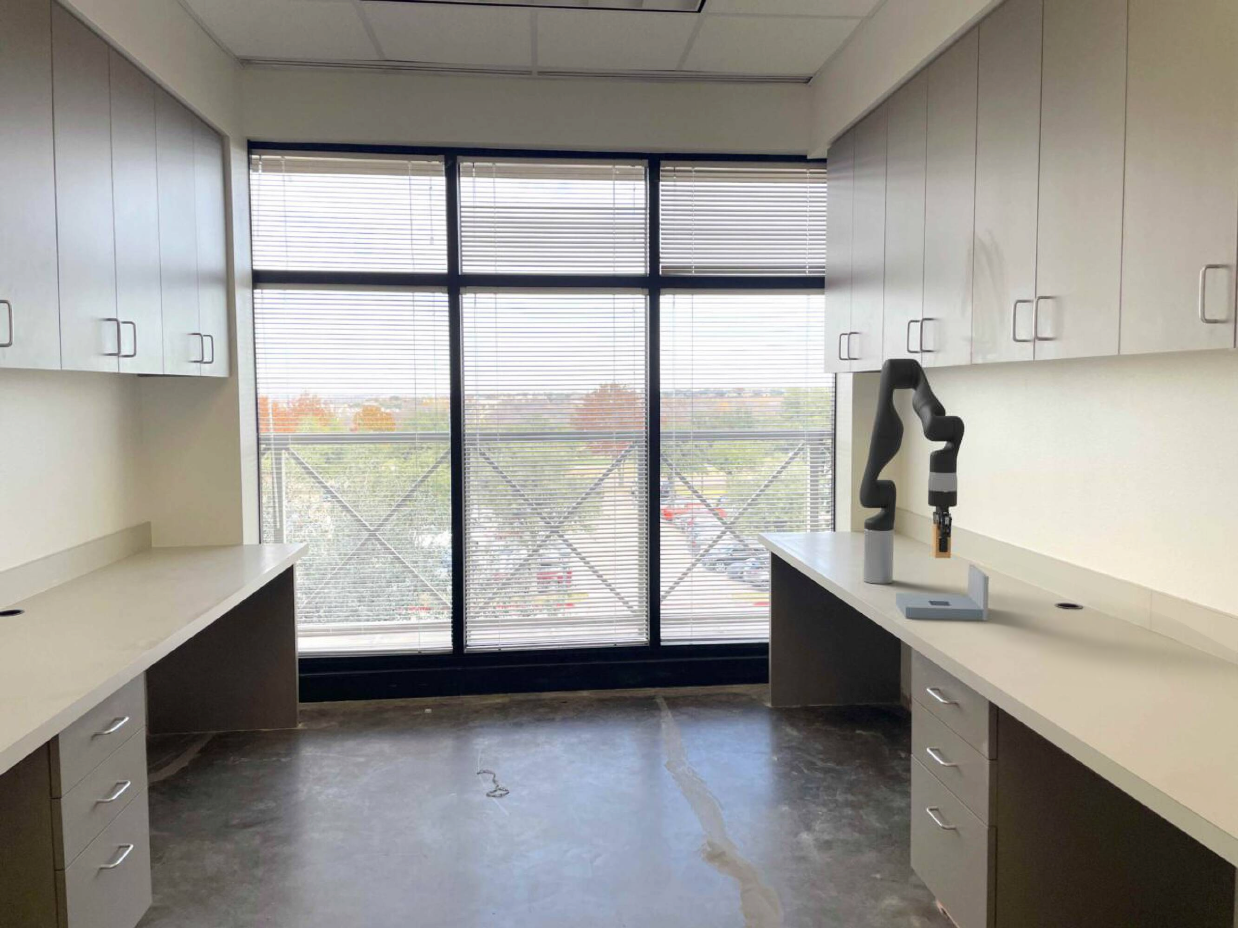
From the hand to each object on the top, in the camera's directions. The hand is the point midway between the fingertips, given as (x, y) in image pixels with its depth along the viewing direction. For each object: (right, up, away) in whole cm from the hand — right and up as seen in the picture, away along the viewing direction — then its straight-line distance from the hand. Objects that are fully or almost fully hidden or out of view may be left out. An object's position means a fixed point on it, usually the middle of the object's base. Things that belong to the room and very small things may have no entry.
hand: (941, 550), depth 252 cm
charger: (0, -2, 0) cm, 2 cm away
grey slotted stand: (0, -17, +4) cm, 18 cm away
